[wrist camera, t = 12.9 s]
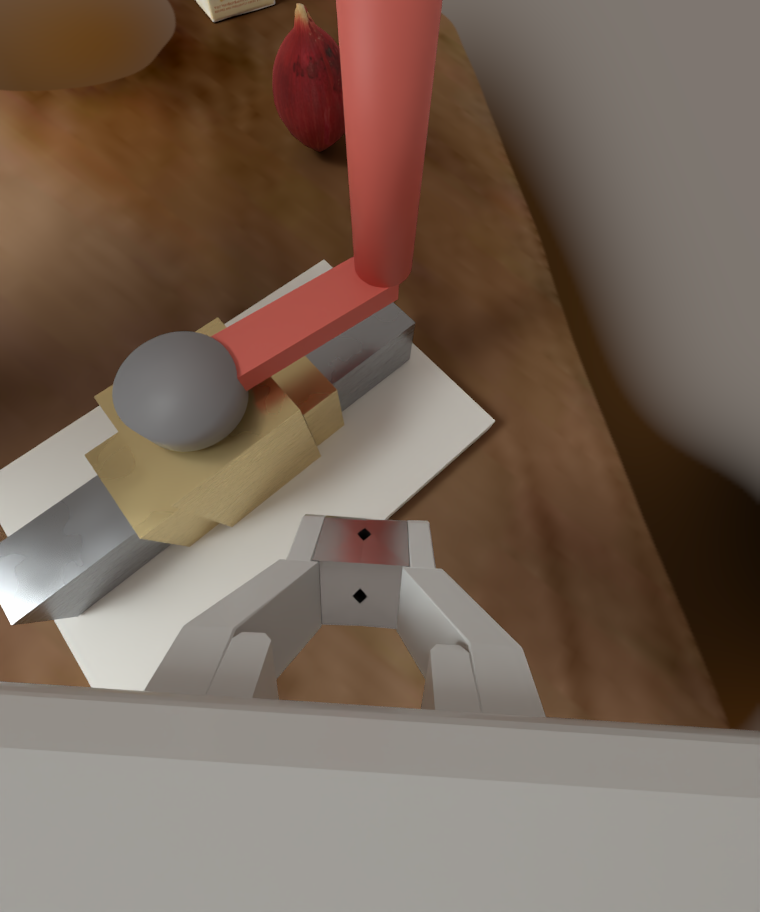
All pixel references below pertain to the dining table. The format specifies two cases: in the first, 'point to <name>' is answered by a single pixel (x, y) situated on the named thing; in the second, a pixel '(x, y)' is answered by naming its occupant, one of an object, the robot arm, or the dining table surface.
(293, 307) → the lever
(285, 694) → the dining table surface
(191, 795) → the robot arm
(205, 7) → the coffeecake box
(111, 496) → the valve and pipe
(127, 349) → the dining table surface
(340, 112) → the onion
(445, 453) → the mounting board
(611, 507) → the dining table surface
